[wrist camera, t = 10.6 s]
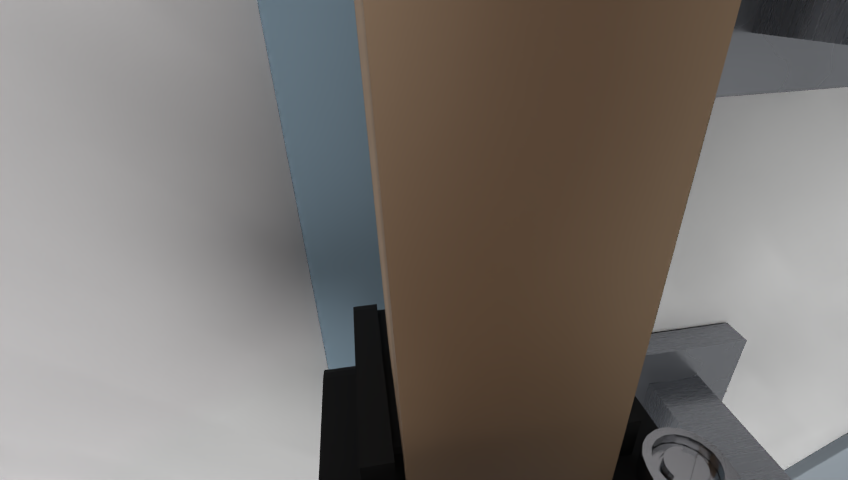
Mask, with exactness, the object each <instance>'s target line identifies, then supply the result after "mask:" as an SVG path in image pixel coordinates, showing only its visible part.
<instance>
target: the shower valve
mask: <svg viewBox="0 0 848 480" xmlns="http://www.w3.org/2000/svg"><path fill="white" fill-rule="evenodd" d="M784 472H785V473H786V474H787V475H788V476H789V477H790V478H791V479H792V480H848V433H847V434H845V435H843V436H841V437H840V438H838V439H836V440H835V441H833V442H831V443H830V444H828V445H826V446H825V447H823V448H821V449H820V450H818V451H816V452H815V453H813V454H811V455H810V456H808V457H806V458H805V459H803V460H801V461H799V462H798V463H796V464H794V465H793V466H791V467H789V468H788V469H786V470H784Z"/></svg>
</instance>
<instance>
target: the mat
mask: <svg viewBox="0 0 848 480" xmlns="http://www.w3.org/2000/svg"><path fill="white" fill-rule="evenodd" d="M257 2H258V7H259V12H260V18H261V23H262V28H263V33H264V38H265V43H266V49H267V54H268V59H269V64H270V69H271V74H272V80H273V85H274V90H275V95H276V100H277V105H278V110H279V116H280V121H281V126H282V131H283V136H284V141H285V147H286V152H287V157H288V162H289V167H290V172H291V178H292V183H293V188H294V193H295V198H296V203H297V209H298V214H299V219H300V224H301V229H302V234H303V240H304V245H305V250H306V255H307V260H308V265H309V271H310V276H311V281H312V286H313V291H314V296H315V302H316V307H317V312H318V317H319V322H320V327H321V333H322V338H323V343H324V348H325V353H326V358H327V364H328V369H336V368H344V367H351V366H355V343H354V317H353V307H356V306H364V305H372V304H377V310H383V309H385V304H384V295H383V285H382V275H381V265H380V255H379V245H378V235H377V225H376V215H375V205H374V195H373V185H372V175H371V165H370V155H369V145H368V135H367V125H366V115H365V105H364V95H363V85H362V75H361V66H360V56H359V46H358V36H357V26H356V16H355V6H354V0H257Z"/></svg>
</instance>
